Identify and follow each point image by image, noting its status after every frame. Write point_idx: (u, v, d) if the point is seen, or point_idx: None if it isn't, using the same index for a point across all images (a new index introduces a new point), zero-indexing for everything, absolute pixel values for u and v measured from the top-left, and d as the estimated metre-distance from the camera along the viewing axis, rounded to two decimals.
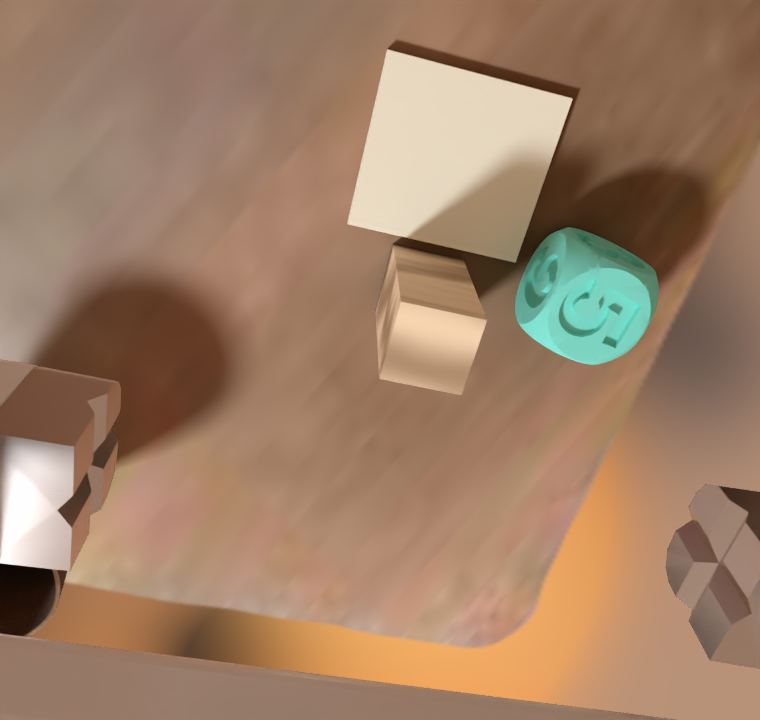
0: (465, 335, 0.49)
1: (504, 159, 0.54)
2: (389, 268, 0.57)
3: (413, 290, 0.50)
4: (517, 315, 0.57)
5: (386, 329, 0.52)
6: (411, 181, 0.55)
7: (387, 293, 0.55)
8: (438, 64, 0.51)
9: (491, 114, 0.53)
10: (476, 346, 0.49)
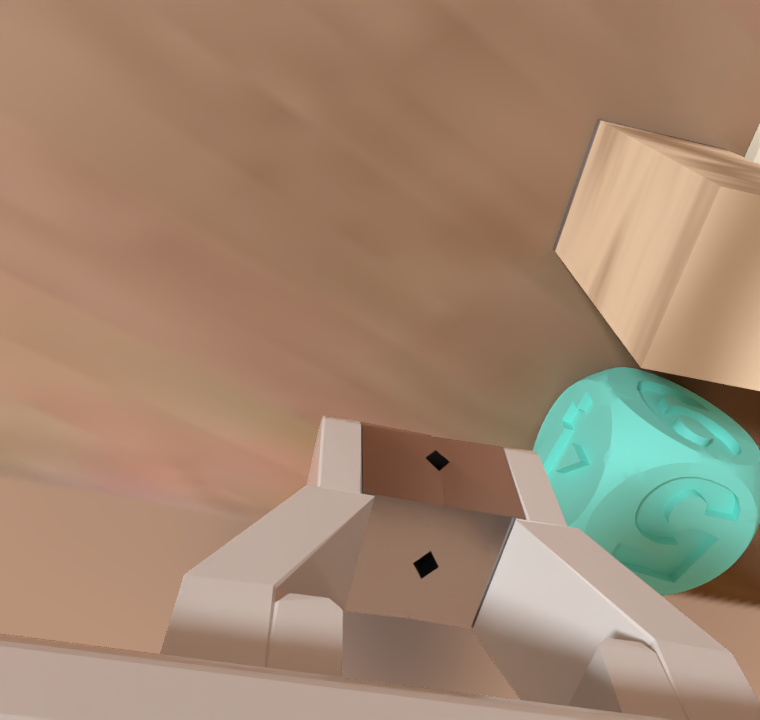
0: None
1: None
2: (712, 150, 0.30)
3: None
4: (613, 386, 0.33)
5: (748, 180, 0.23)
6: None
7: (717, 158, 0.27)
8: None
9: None
10: (754, 387, 0.24)
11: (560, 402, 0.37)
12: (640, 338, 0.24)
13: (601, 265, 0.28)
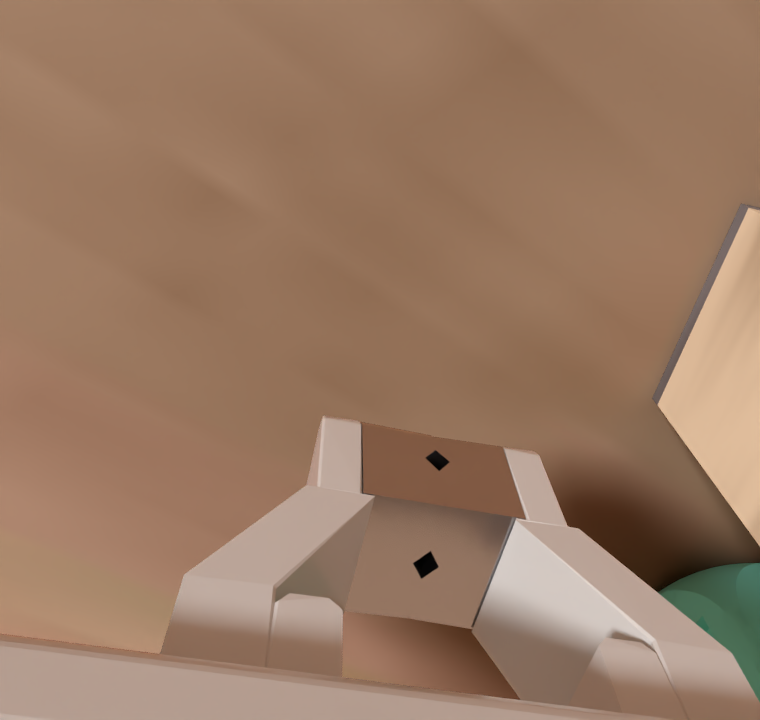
0: None
1: None
2: None
3: None
4: (753, 623, 0.21)
5: None
6: None
7: None
8: None
9: None
10: None
11: None
12: None
13: None
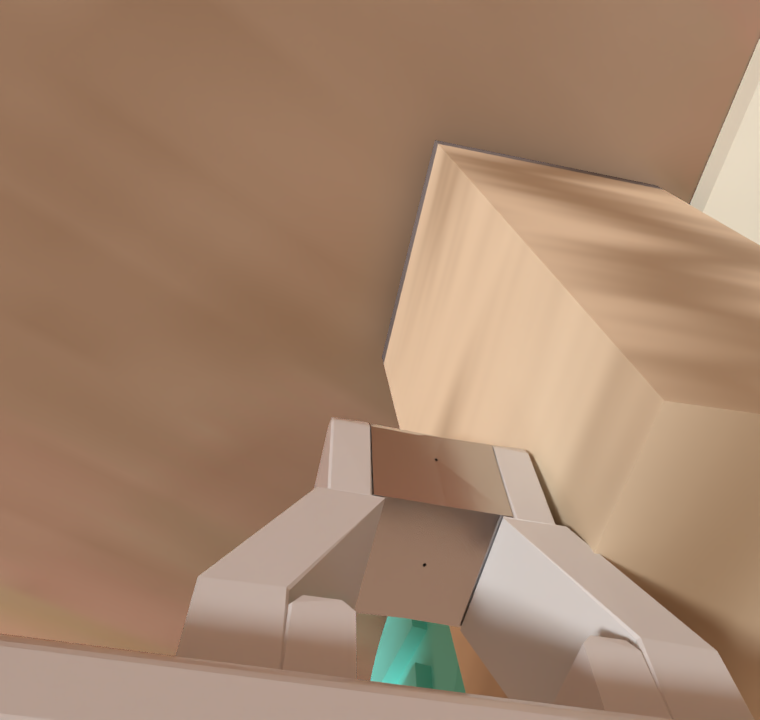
0: None
1: None
2: (636, 195, 0.17)
3: None
4: None
5: (721, 309, 0.10)
6: None
7: (645, 222, 0.14)
8: None
9: None
10: None
11: None
12: (487, 695, 0.10)
13: None
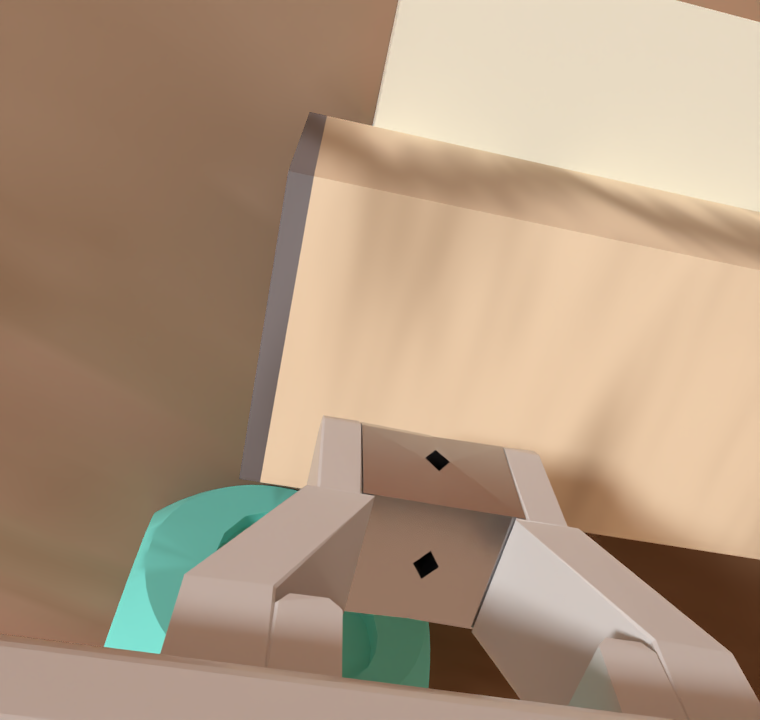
0: None
1: None
2: (391, 141, 0.15)
3: None
4: (161, 538, 0.18)
5: (740, 237, 0.14)
6: None
7: (520, 179, 0.15)
8: None
9: None
10: None
11: None
12: None
13: (560, 471, 0.14)
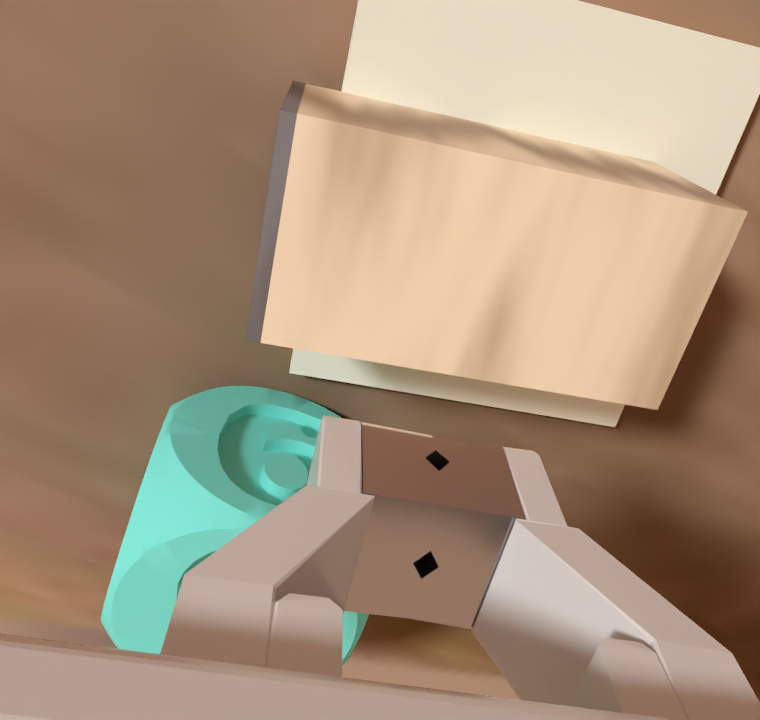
0: None
1: None
2: (354, 100, 0.21)
3: None
4: (180, 415, 0.24)
5: (605, 166, 0.20)
6: None
7: (448, 126, 0.20)
8: (723, 171, 0.24)
9: None
10: None
11: None
12: (640, 385, 0.20)
13: (476, 333, 0.19)
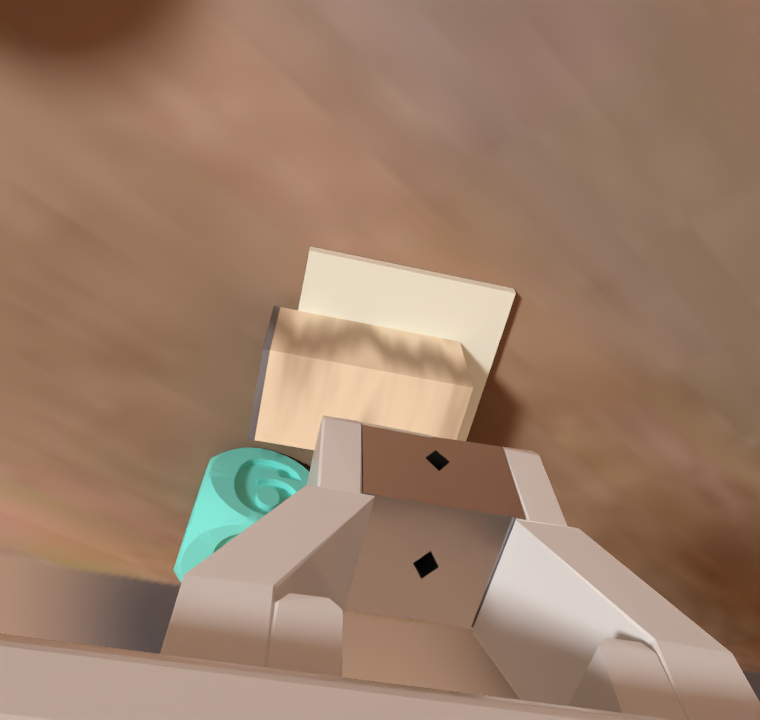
0: None
1: None
2: (301, 321, 0.43)
3: None
4: (215, 466, 0.46)
5: (418, 358, 0.42)
6: None
7: (345, 337, 0.43)
8: (496, 346, 0.46)
9: None
10: None
11: (205, 472, 0.50)
12: None
13: None
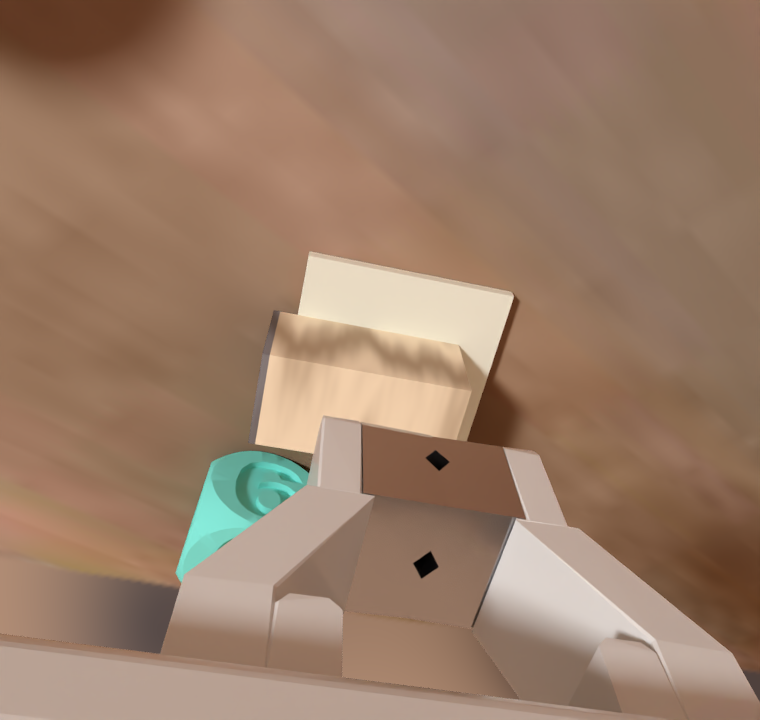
0: None
1: None
2: (301, 325, 0.44)
3: None
4: (216, 469, 0.47)
5: (417, 362, 0.43)
6: None
7: (344, 341, 0.43)
8: (495, 349, 0.46)
9: None
10: None
11: (207, 475, 0.51)
12: None
13: None
